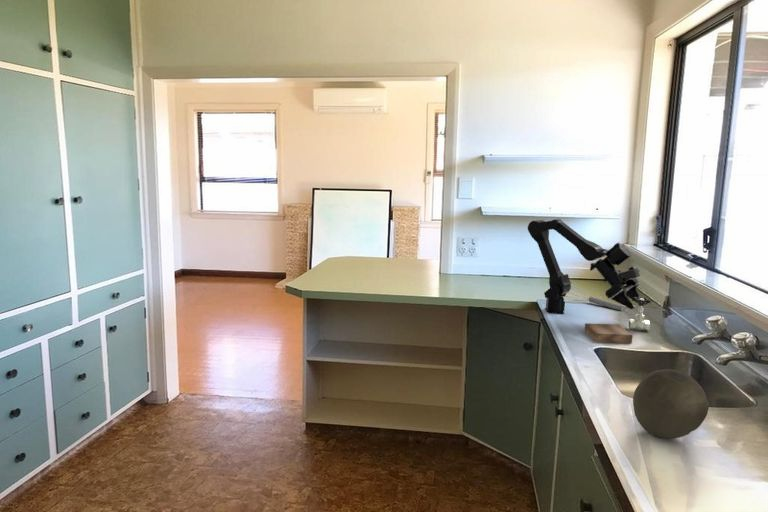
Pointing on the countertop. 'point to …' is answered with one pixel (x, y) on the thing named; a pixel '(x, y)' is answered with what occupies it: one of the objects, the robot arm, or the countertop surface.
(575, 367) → the countertop surface
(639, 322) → the valve
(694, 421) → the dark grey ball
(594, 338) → the walnut plinth
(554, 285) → the robot arm
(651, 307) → the countertop surface
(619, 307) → the kitchen whisk
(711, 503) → the countertop surface
